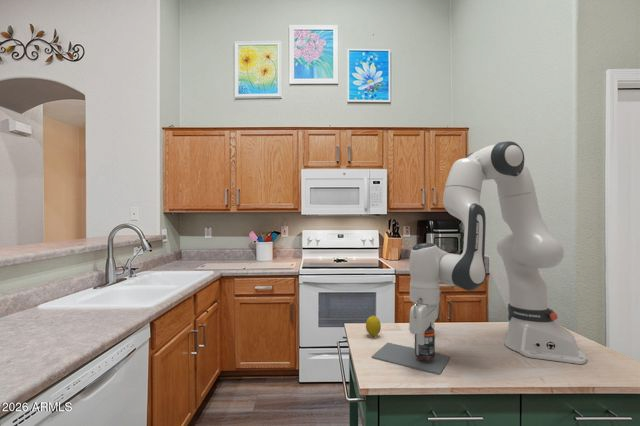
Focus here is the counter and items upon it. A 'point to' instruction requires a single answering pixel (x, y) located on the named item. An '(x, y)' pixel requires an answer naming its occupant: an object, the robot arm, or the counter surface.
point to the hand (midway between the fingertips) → (424, 340)
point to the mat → (410, 358)
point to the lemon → (373, 325)
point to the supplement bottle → (426, 345)
